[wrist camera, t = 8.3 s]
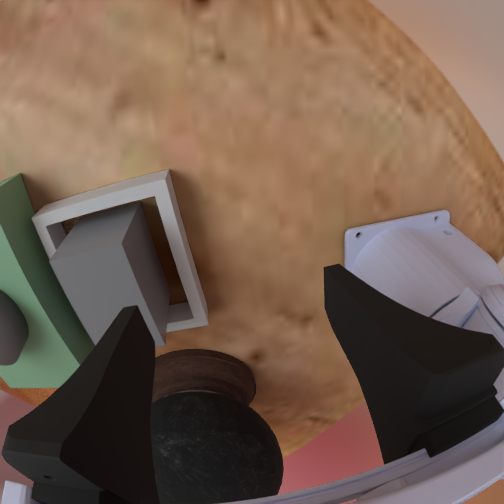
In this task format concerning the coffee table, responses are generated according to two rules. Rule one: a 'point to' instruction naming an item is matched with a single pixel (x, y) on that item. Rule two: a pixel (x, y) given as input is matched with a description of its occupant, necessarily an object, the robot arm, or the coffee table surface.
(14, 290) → the green block with dome
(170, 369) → the black ball on stand
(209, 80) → the coffee table surface
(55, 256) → the chute block
